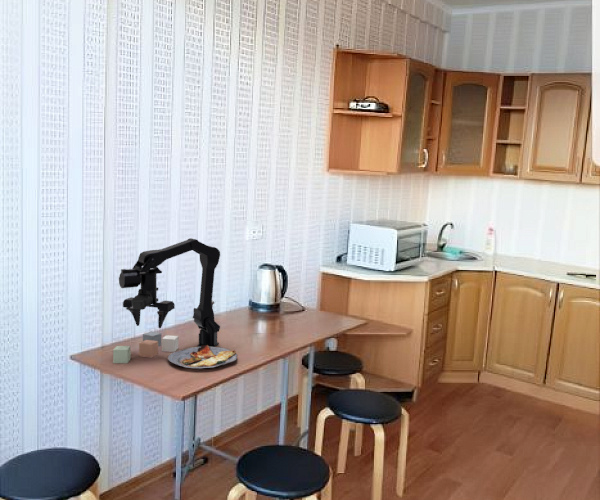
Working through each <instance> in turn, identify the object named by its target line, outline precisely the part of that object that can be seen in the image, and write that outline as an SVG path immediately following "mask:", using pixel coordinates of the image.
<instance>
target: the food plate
mask: <svg viewBox="0 0 600 500" xmlns="http://www.w3.org/2000/svg"><path fill="white" fill-rule="evenodd" d="M167 359H168V361H169V362H171V363H172V364H175V365H176V366H180V367H183V368H190V369H194V370H202V369H209V368H210V369H211V368H218V367H220V366H224V365H227V364H229V363H232V362H235V361H236V360H238V354H237V351H236V350H233V349H232V350H231V349H229V348H226V347H220V346H215V347H212V346H209V345H207V346H205V345H202V346H195V347H189V348H188V347H187V348H183V349H181V350H176V351H175V352H171V353H170V354H169V355H168V356H167Z"/></svg>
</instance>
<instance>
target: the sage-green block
mask: <svg viewBox="0 0 600 500" xmlns="http://www.w3.org/2000/svg"><path fill="white" fill-rule="evenodd" d="M112 354H113V355H112V358H113V359H112V363H113V364H128V363H129V362H130V360H131V346H130V345H116V346H115V347H114V348H113V349H112Z"/></svg>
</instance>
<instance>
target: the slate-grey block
mask: <svg viewBox="0 0 600 500" xmlns="http://www.w3.org/2000/svg"><path fill="white" fill-rule="evenodd" d="M145 340H152V341H158V347H162V333H161V332H156V331H153V330H152V331H149V332H146V333H145V332H144V333H143V334H142V342H143V341H145Z"/></svg>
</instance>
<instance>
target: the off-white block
mask: <svg viewBox="0 0 600 500" xmlns="http://www.w3.org/2000/svg"><path fill="white" fill-rule="evenodd" d="M178 349H179V335H168V334H166V335H164V336H163V337H161V352H166V353H167V352H171V353H173V352H177V351H178Z"/></svg>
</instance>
